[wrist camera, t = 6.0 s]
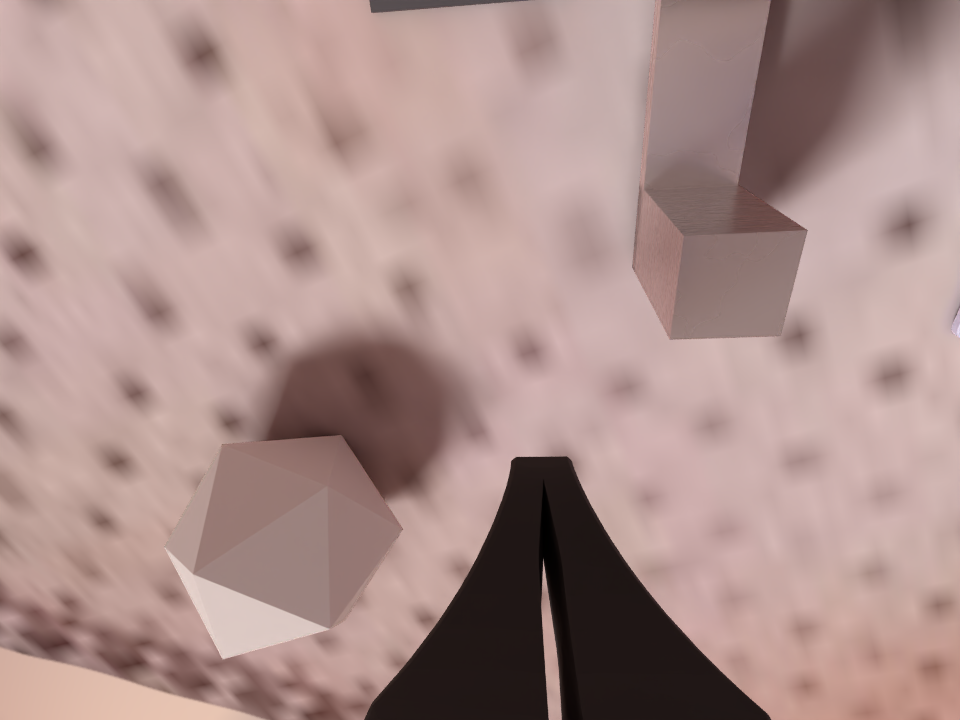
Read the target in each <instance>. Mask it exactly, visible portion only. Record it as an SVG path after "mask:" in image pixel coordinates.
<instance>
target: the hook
mask: <svg viewBox="0 0 960 720" xmlns="http://www.w3.org/2000/svg"><path fill="white" fill-rule="evenodd" d="M770 3H771V0H655V12H654V23H653V35H652V46H651V58H650V69H649V81H648V92H647V104H646V116H645V127H644V139H643V150H642V162H641V173H640V185H639V196H638V208H637V219H636V231H635V242H634V254H633V265H632V268H633V270H634V272H635V274H636V276H637V277H638V279H639V281H640V283H641V285H642V287H643V289H644V291H645V293H646V295H647V297H648V299H649V300H650V302H651V304H652V306H653V308H654V310H655V312H656V314H657V316H658V318H659V320H660V322H661V324H662V325H663V327H664V329H665V331H666V333H667V335H668V337H669V339H670V340H673V339H705V338H737V337H769V336H781V332H782V328H783V325H784V321H785V317H786V313H787V309H788V305H789V301H790V297H791V293H792V289H793V285H794V282H795V278H796V274H797V270H798V266H799V262H800V258H801V254H802V250H803V246H804V242H805V239H806V235H807V231H808V230H807V229H805V228H803V227H802V226H800V225H799V224H797V223H796V222H794V221H793V220H791V219H790V218H788V217H787V216H785V215H784V214H782V213H781V212H779V211H778V210H776V209H774V208H773V207H771V206H770V205H768V204H767V203H765V202H764V201H762V200H761V199H759V198H758V197H756V196H755V195H753V194H752V193H750V192H749V191H747V190H745V189H744V188H742V187H741V186H739V185H738V181H739V175H740V170H741V164H742V159H743V153H744V148H745V142H746V136H747V131H748V125H749V120H750V114H751V109H752V103H753V97H754V92H755V86H756V81H757V75H758V69H759V64H760V58H761V53H762V47H763V42H764V36H765V30H766V25H767V19H768V14H769V8H770Z"/></svg>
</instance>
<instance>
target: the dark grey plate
mask: <svg viewBox="0 0 960 720" xmlns="http://www.w3.org/2000/svg"><path fill="white" fill-rule="evenodd" d="M513 1H526V0H370V7H371V12H372V13H378V12H390V11H402V10H415V9H427V8H439V7H452V6H464V5H476V4H489V3H501V2H513Z"/></svg>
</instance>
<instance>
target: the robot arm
mask: <svg viewBox="0 0 960 720" xmlns="http://www.w3.org/2000/svg"><path fill="white" fill-rule="evenodd" d="M951 330H952V333H953V334H955V335H956V336H958V337H959V338H960V308H959V311H958V313H957V315H956V318H955V320H954V322H953V324H952V329H951ZM543 559H544V566H545V573H546V580H547V587H548V593H549V600H550V607H551V614H552V620H553V627H554V634H555V641H556V648H557V657H558V666H559V679H560V696H561V712H562V720H771V718H770V717H769V715H768V714H767V713H766V712H765V711H764V710H762V709H761V708H760V707H759V706H758V705H757V704H756V703H755V702H753V701H752V700H751V699H750V698H749V697H748V696H747V695H746V694H744V693H743V692H742V691H741V690H740V689H739V688H738V687H737V686H736V685H735V684H734V683H733V682H732V681H731V680H729V679H728V678H727V677H726V676H725V675H724V674H723V673H722V672H721V671H720V670H719V669H718V668H717V667H716V666H715V665H714V664H713V663H712V662H711V661H710V660H709V659H708V658H707V657H706V656H705V655H704V654H703V653H702V652H701V651H700V650H699V649H698V648H697V647H696V646H695V645H694V644H693V642H692V641H691V640H690V639H689V638H688V637H687V636H686V635H685V634H684V633H683V631H682V630H681V629H680V628H679V627H678V626H677V625H676V624H675V623H674V622H673V621H672V619H671V618H670V617H669V616H668V615H667V614H666V613H665V612H664V610H663V609H662V608H661V607H660V606H659V604H658V603H657V602H656V601H655V600H654V598H653V597H652V596H651V595H650V593H649V592H648V591H647V590H646V588H645V587H644V586H643V584H642V583H641V582H640V580H639V579H638V578H637V577H636V575H635V574H634V572H633V571H632V570H631V568H630V567H629V566H628V564H627V563H626V561H625V560H624V558H623V557H622V555H621V554H620V552H619V551H618V549H617V548H616V546H615V545H614V543H613V542H612V540H611V539H610V537H609V535H608V534H607V532H606V531H605V529H604V527H603V525H602V524H601V522H600V520H599V519H598V517H597V515H596V513H595V512H594V510H593V508H592V506H591V504H590V502H589V500H588V499H587V496H586V494H585V492H584V490H583V488H582V486H581V484H580V482H579V480H578V477H577V475H576V472H575V470H574V467H573V464H572V461H571V460H570V459H569V458H568V457H516V458H514V459H513V460H512V461H511V469H510V474H509V479H508V482H507V486H506V489H505V492H504V496H503V499H502V501H501V504H500V507H499V509H498V512H497V514H496V517H495V520H494V522H493V525H492V527H491V529H490V531H489V534H488V536H487V538H486V540H485V542H484V544H483V546H482V548H481V551H480V553H479V555H478V557H477V559H476V560H475V562H474V564H473V566H472V568H471V570H470V572H469V573H468V575H467V577H466V579H465V580H464V582H463V584H462V586H461V587H460V589H459V590H458V592H457V594H456V595H455V597H454V598H453V600H452V601H451V603H450V605H449V606H448V608H447V609H446V611H445V612H444V614H443V615H442V617H441V618H440V620H439V621H438V623H437V624H436V625H435V627H434V628H433V629H432V631H431V632H430V633H429V635H428V636H427V637H426V639H425V640H424V641H423V643H422V644H421V645H420V647H419V648H418V649H417V651H416V652H415V653H414V654H413V656H412V657H411V658H410V660H409V661H408V662H407V663H406V665H405V666H404V667H403V668H402V669H401V670H400V672H399V673H398V674H397V675H396V676H395V677H394V678H393V680H392V681H391V682H390V683H389V684H388V685H387V686H386V688H385V689H384V690H383V691H382V692H381V693H380V694H379V696H378V697H377V698H376V699H375V700H374V701H373V703H372V704H371V706H370V708H369V710H368V713H367V715H366V717H365V719H364V720H549V719H548V704H547V690H546V676H545V660H544V645H543V629H542V613H541V598H542V575H543Z"/></svg>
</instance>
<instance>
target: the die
mask: <svg viewBox="0 0 960 720" xmlns="http://www.w3.org/2000/svg"><path fill="white" fill-rule="evenodd" d="M402 530H403V528H402V527H401V525H400V524H399V522H398V521H397V519H396V518H395V516H394V515H393V513H392V511H391V510H390V508H389V507H388V505H387V504H386V502H385V501H384V499H383V498H382V496H381V495H380V493H379V492H378V490H377V489H376V487H375V485H374V484H373V482H372V481H371V479H370V478H369V476H368V475H367V473H366V472H365V470H364V469H363V467H362V466H361V464H360V462H359V461H358V459H357V458H356V456H355V455H354V453H353V452H352V450H351V449H350V447H349V446H348V444H347V443H346V441H345V440H344V438H343V436H342V435H336V436H323V437H310V438H297V439H284V440H271V441H258V442H245V443H232V444H222V446H221V447H220V449H219V451H218V453H217V454H216V456H215V458H214V460H213V461H212V463H211V465H210V467H209V468H208V470H207V472H206V474H205V475H204V477H203V479H202V481H201V483H200V484H199V486H198V488H197V490H196V491H195V493H194V495H193V497H192V498H191V500H190V502H189V504H188V505H187V507H186V509H185V511H184V512H183V514H182V516H181V518H180V519H179V521H178V523H177V525H176V526H175V528H174V530H173V532H172V534H171V535H170V537H169V539H168V541H167V542H166V544H165V546H164V547H165V549H166V551H167V553H168V555H169V557H170V559H171V561H172V563H173V564H174V566H175V568H176V570H177V572H178V574H179V576H180V578H181V580H182V582H183V584H184V586H185V588H186V590H187V591H188V593H189V595H190V597H191V599H192V601H193V603H194V605H195V607H196V609H197V611H198V613H199V615H200V616H201V618H202V620H203V622H204V624H205V626H206V628H207V630H208V632H209V634H210V636H211V638H212V640H213V641H214V643H215V645H216V647H217V649H218V651H219V653H220V655H221V657H222V659H226V658H229V657H233V656H236V655H240V654H243V653H247V652H251V651H254V650H258V649H261V648H265V647H268V646H272V645H276V644H279V643H283V642H286V641H290V640H293V639H297V638H301V637H304V636H308V635H311V634H315V633H318V632H322V631H326V630H329V629H331V628H333V627H335V626H336V625H338V624H340V623H342V622H343V621H345V620H346V618H347V617H348V615H349V614H350V612H351V610H352V609H353V607H354V606H355V604H356V602H357V601H358V599H359V598H360V596H361V595H362V593H363V591H364V590H365V588H366V587H367V585H368V584H369V582H370V580H371V579H372V577H373V576H374V574H375V572H376V571H377V569H378V568H379V566H380V565H381V563H382V561H383V560H384V558H385V557H386V555H387V554H388V552H389V550H390V549H391V547H392V546H393V544H394V542H395V541H396V539H397V538H398V536H399V535H400V533H401V531H402Z"/></svg>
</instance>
